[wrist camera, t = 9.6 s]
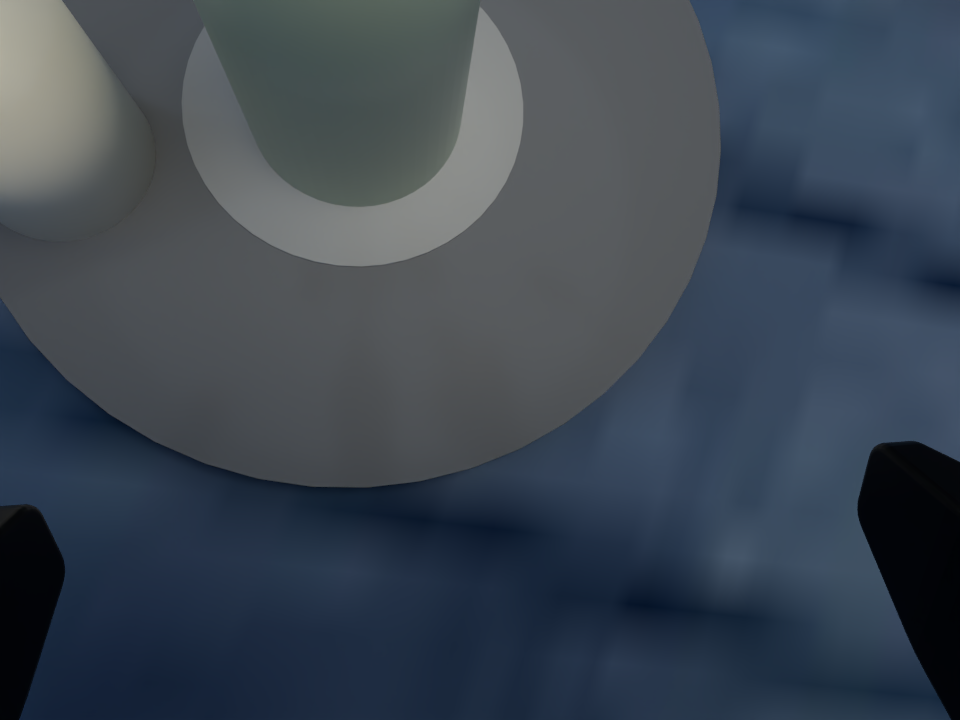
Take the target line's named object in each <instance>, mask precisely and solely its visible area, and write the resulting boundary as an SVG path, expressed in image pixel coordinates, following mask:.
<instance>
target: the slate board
mask: <svg viewBox="0 0 960 720" xmlns="http://www.w3.org/2000/svg"><path fill="white" fill-rule="evenodd" d="M62 1H63V2H64V4H65V5H66V7H67V8H68V9H69V11H70V12H71V14H72V15H73V16H74V18H75V19H76V21H77V22H78V23H79V25H80V26H81V28H82V29H83V30H84V32H85V33H86V34H87V36H88V37H89V39H90V40H91V41H92V43H93V44H94V46H95V47H96V48H97V50H98V51H99V53H100V54H101V55H102V57H103V58H104V60H105V61H106V62H107V64H108V65H109V67H110V68H111V69H112V71H113V72H114V74H115V75H116V76H117V78H118V79H119V81H120V82H121V83H122V85H123V86H124V88H125V89H126V90H127V92H128V93H129V95H130V96H131V97H132V99H133V100H134V102H135V103H136V104H137V106H138V107H139V109H140V110H141V111H142V113H143V114H144V116H145V117H146V119H147V121H148V123H149V125H150V128H151V131H152V134H153V137H154V142H155V152H156V159H155V168H154V172H153V177H152V180H151V182H150V185H149V187H148V189H147V191H146V193H145V195H144V196H143V198H142V200H141V201H140V202H139V204H138V205H137V206H136V207H135V209H134V210H133V211H132V212H131V213H130V214H129V215H128V216H127V217H125V218H124V219H123V220H122V221H120V222H119V223H118V224H116V225H114V226H113V227H111V228H110V229H108V230H106V231H104V232H101V233H99V234H97V235H94V236H91V237H88V238H84V239H79V240H74V241H63V242H56V241H44V240H38V239H34V238H30V237H27V236H24V235H22V234H19V233H17V232H15V231H13V230H11V229H9V228H8V227H6V226H5V225H3V224H1V223H0V298H1V299H2V301H3V302H4V303H5V305H6V306H7V308H8V309H9V311H10V312H11V314H12V315H13V316H14V318H15V319H16V321H17V322H18V324H19V325H20V327H21V328H22V329H23V331H24V332H25V334H26V335H27V337H28V338H29V340H30V341H31V342H32V343H33V344H34V345H35V346H36V347H37V348H38V349H39V351H40V352H41V353H42V354H43V355H44V356H45V357H46V358H47V359H48V360H49V361H50V362H51V363H52V365H53V366H54V367H55V368H56V369H57V370H58V371H59V372H60V373H61V374H62V375H63V376H64V377H65V379H66V380H68V381H69V382H70V383H71V384H73V385H74V386H75V387H76V388H77V389H79V390H80V391H81V392H82V393H84V394H85V395H86V396H87V397H89V398H90V399H91V400H92V401H93V402H95V403H96V404H97V405H98V406H100V407H101V408H102V409H103V410H105V411H106V412H107V413H108V414H110V415H112V416H113V417H115V418H116V419H118V420H120V421H121V422H123V423H125V424H126V425H128V426H130V427H131V428H133V429H135V430H136V431H138V432H140V433H141V434H143V435H145V436H146V437H148V438H149V439H151V440H153V441H154V442H157V443H159V444H161V445H163V446H166V447H168V448H170V449H173V450H175V451H177V452H180V453H182V454H184V455H186V456H189V457H191V458H193V459H196V460H198V461H200V462H203V463H205V464H208V465H212V466H215V467H219V468H222V469H226V470H229V471H233V472H236V473H240V474H243V475H247V476H250V477H254V478H257V479H263V480H270V481H277V482H284V483H291V484H297V485H304V486H311V487H375V486H384V485H392V484H401V483H409V482H418V481H423V480H427V479H431V478H435V477H439V476H443V475H447V474H451V473H455V472H459V471H462V470H466V469H470V468H473V467H476V466H478V465H481V464H483V463H486V462H488V461H491V460H493V459H496V458H498V457H501V456H503V455H506V454H508V453H511V452H513V451H516V450H518V449H521V448H522V447H524V446H526V445H528V444H529V443H531V442H533V441H535V440H536V439H538V438H540V437H542V436H544V435H545V434H547V433H549V432H551V431H552V430H554V429H556V428H558V427H559V426H561V425H563V424H565V423H566V422H567V421H569V420H570V419H571V418H573V417H574V416H575V415H576V414H578V413H579V412H580V411H582V410H583V409H584V408H586V407H587V406H588V405H590V404H591V403H592V402H594V401H595V400H596V399H598V398H599V397H600V396H601V395H603V394H604V393H605V392H606V391H607V390H608V389H609V388H610V387H611V386H612V385H613V384H614V383H615V382H616V381H617V380H618V379H619V378H620V377H621V376H622V375H623V374H624V373H625V372H626V371H627V370H628V369H629V368H630V367H631V366H632V365H633V364H634V363H635V362H636V361H637V360H638V359H639V358H640V356H641V355H642V354H643V352H644V351H645V350H646V348H647V347H648V346H649V344H650V343H651V342H652V340H653V339H654V338H655V336H656V335H657V334H658V332H659V331H660V330H661V328H662V327H663V326H664V324H665V323H666V322H667V320H668V318H669V317H670V315H671V313H672V311H673V309H674V308H675V306H676V304H677V302H678V301H679V299H680V297H681V295H682V293H683V292H684V290H685V288H686V286H687V284H688V283H689V281H690V278H691V276H692V273H693V271H694V268H695V265H696V263H697V260H698V258H699V255H700V253H701V250H702V247H703V245H704V242H705V240H706V236H707V232H708V228H709V224H710V220H711V215H712V211H713V207H714V203H715V198H716V194H717V184H718V173H719V163H720V153H721V144H720V118H719V103H718V97H717V91H716V86H715V80H714V74H713V68H712V63H711V59H710V56H709V53H708V50H707V47H706V43H705V40H704V37H703V34H702V31H701V27H700V24H699V21H698V19H697V16H696V14H695V12H694V10H693V8H692V6H691V3H690V1H689V0H480V7H479V13H478V19H477V25H476V32H475V38H474V44H473V51H472V57H471V63H470V70H469V76H468V82H467V88H466V95H465V101H464V107H463V114H462V120H461V126H460V132H459V135H458V138H457V142H456V144H455V146H454V149H453V151H452V153H451V155H450V157H449V158H448V160H447V161H446V163H445V164H444V166H443V167H442V168H441V169H440V171H439V172H438V173H437V174H436V175H435V176H434V177H433V178H432V179H431V180H430V181H429V182H427V183H426V184H425V185H424V186H422V187H421V188H419V189H418V190H416V191H415V192H413V193H411V194H409V195H407V196H405V197H403V198H401V199H398V200H395V201H392V202H389V203H385V204H380V205H376V206H365V207H350V206H341V205H335V204H330V203H327V202H324V201H320V200H317V199H315V198H313V197H310V196H308V195H306V194H304V193H302V192H301V191H299V190H297V189H296V188H294V187H292V186H291V185H290V184H289V183H287V182H286V181H285V180H283V179H282V178H281V177H280V176H279V175H278V174H277V173H276V172H275V171H274V170H273V169H272V168H271V166H270V165H269V164H268V162H267V161H266V160H265V158H264V157H263V155H262V153H261V151H260V150H259V148H258V146H257V144H256V142H255V139H254V137H253V135H252V132H251V130H250V128H249V126H248V123H247V121H246V119H245V117H244V114H243V112H242V110H241V108H240V105H239V103H238V101H237V98H236V96H235V94H234V92H233V89H232V87H231V85H230V83H229V80H228V78H227V76H226V74H225V71H224V69H223V67H222V65H221V62H220V60H219V58H218V55H217V53H216V51H215V49H214V46H213V44H212V42H211V40H210V37H209V35H208V33H207V31H206V28H205V26H204V24H203V21H202V19H201V17H200V15H199V12H198V10H197V8H196V6H195V3H194V1H193V0H62Z"/></svg>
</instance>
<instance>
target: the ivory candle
mask: <svg viewBox="0 0 960 720" xmlns="http://www.w3.org/2000/svg"><path fill="white" fill-rule="evenodd" d="M155 159H156V152H155V142H154V137H153V134H152V131H151V128H150V125H149V123H148V121H147V119H146V117H145V116H144V114H143V113H142V111H141V110H140V109H139V107H138V106H137V104H136V103H135V102H134V100H133V99H132V97H131V96H130V95H129V93H128V92H127V90H126V89H125V88H124V86H123V85H122V83H121V82H120V81H119V79H118V78H117V76H116V75H115V74H114V72H113V71H112V69H111V68H110V67H109V65H108V64H107V62H106V61H105V60H104V58H103V57H102V55H101V54H100V53H99V51H98V50H97V48H96V47H95V46H94V44H93V43H92V41H91V40H90V39H89V37H88V36H87V34H86V33H85V32H84V30H83V29H82V28H81V26H80V25H79V23H78V22H77V21H76V19H75V18H74V16H73V15H72V14H71V12H70V11H69V9H68V8H67V7H66V5H65V4H64V2H63V1H62V0H0V223H1V224H3V225H5V226H6V227H8V228H9V229H11V230H13V231H15V232H17V233H19V234H22V235H24V236H27V237H30V238H34V239H38V240H44V241H56V242H63V241H74V240H79V239H84V238H88V237H91V236H94V235H97V234H99V233H101V232H104V231H106V230H108V229H110V228H111V227H113V226H114V225H116V224H118V223H119V222H120V221H122V220H123V219H124V218H125V217H127V216H128V215H129V214H130V213H131V212H132V211H133V210H134V209H135V207H136V206H137V205H138V204H139V202H140V201H141V200H142V198H143V196H144V195H145V193H146V191H147V189H148V187H149V185H150V182H151V180H152V177H153V172H154V168H155Z"/></svg>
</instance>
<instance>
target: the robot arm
mask: <svg viewBox="0 0 960 720" xmlns="http://www.w3.org/2000/svg"><path fill="white" fill-rule="evenodd" d="M857 510H858V517H859V521H860V524H861V527H862V529H863V532H864V534H865V537H866V539H867V541H868V544H869V546H870V548H871V551H872V553H873V556H874V558H875V560H876V563H877V565H878V568H879V570H880V572H881V575H882V577H883V580H884V582H885V584H886V587H887V589H888V591H889V594H890V596H891V599H892V601H893V603H894V606H895V608H896V611H897V613H898V615H899V618H900V620H901V622H902V625H903V627H904V630H905V632H906V634H907V636H908V638H909V641H910V643H911V645H912V647H913V649H914V652H915V654H916V656H917V657H918V659H919V661H920V663H921V665H922V667H923V669H924V671H925V673H926V675H927V677H928V678H929V680H930V682H931V684H932V686H933V687H934V689H935V691H936V693H937V695H938V697H939V698H940V700H941V702H942V704H943V706H944V707H945V709H946V711H947V713H948V715H949V717H950V718H951V720H960V462H959V461H957V460H955V459H953V458H951V457H949V456H947V455H944V454H942V453H940V452H938V451H936V450H934V449H932V448H930V447H928V446H926V445H924V444H922V443H919V442H915V441H904V442H890V443H881V444H879V445H877V446H875V447H874V448H873V450H872V451H871V453H870V456H869V460H868V464H867V467H866V471H865V475H864V479H863V483H862V487H861V491H860V495H859V498H858V509H857ZM64 576H65V565H64V560H63V557H62V554H61V552H60V550H59V548H58V546H57V544H56V542H55V540H54V538H53V536H52V534H51V532H50V529H49V527H48V525H47V523H46V521H45V519H44V517H43V515H42V513H41V512H40V511H39V510H38V509H37V508H36V507H34V506H32V505H27V504H25V505H11V506H0V720H19V718H20V716H21V713H22V710H23V707H24V704H25V702H26V699H27V696H28V693H29V690H30V687H31V684H32V681H33V677H34V674H35V671H36V668H37V665H38V662H39V658H40V655H41V652H42V649H43V646H44V643H45V639H46V636H47V633H48V630H49V627H50V624H51V620H52V617H53V614H54V611H55V608H56V605H57V601H58V598H59V595H60V592H61V589H62V586H63V582H64Z"/></svg>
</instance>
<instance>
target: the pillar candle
mask: <svg viewBox="0 0 960 720" xmlns="http://www.w3.org/2000/svg"><path fill="white" fill-rule="evenodd" d="M193 1H194V3H195V6H196V8H197V10H198V12H199V15H200V17H201V19H202V21H203V24H204V26H205V28H206V31H207V33H208V35H209V37H210V40H211V42H212V44H213V46H214V49H215V51H216V53H217V55H218V58H219V60H220V62H221V65H222V67H223V69H224V71H225V74H226V76H227V78H228V80H229V83H230V85H231V87H232V89H233V92H234V94H235V96H236V98H237V101H238V103H239V105H240V108H241V110H242V112H243V114H244V117H245V119H246V121H247V123H248V126H249V128H250V130H251V132H252V135H253V137H254V139H255V142H256V144H257V146H258V148H259V150H260V151H261V153H262V155H263V157H264V158H265V160H266V161H267V162H268V164H269V165H270V166H271V168H272V169H273V170H274V171H275V172H276V173H277V174H278V175H279V176H280V177H281V178H282V179H283V180H285V181H286V182H287V183H289V184H290V185H291V186H292V187H294V188H296V189H297V190H299V191H301V192H302V193H304V194H306V195H308V196H310V197H313V198H315V199H317V200H320V201H324V202H327V203H330V204H335V205H341V206H350V207H365V206H376V205H380V204H385V203H389V202H392V201H395V200H398V199H401V198H403V197H405V196H407V195H409V194H411V193H413V192H415V191H416V190H418V189H419V188H421V187H422V186H424V185H425V184H426V183H427V182H429V181H430V180H431V179H432V178H433V177H434V176H435V175H436V174H437V173H438V172H439V171H440V169H441V168H442V167H443V166H444V164H445V163H446V161H447V160H448V158H449V157H450V155H451V153H452V151H453V149H454V146H455V144H456V142H457V138H458V135H459V132H460V126H461V120H462V114H463V107H464V101H465V95H466V88H467V82H468V76H469V70H470V63H471V57H472V51H473V44H474V38H475V32H476V25H477V19H478V13H479V7H480V0H193Z"/></svg>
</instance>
